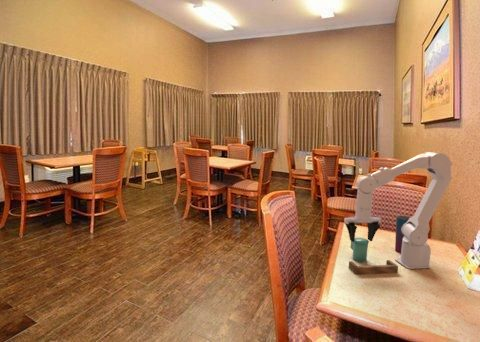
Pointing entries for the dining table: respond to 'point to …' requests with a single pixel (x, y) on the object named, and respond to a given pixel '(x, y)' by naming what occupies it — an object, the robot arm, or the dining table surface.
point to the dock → (374, 268)
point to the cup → (399, 236)
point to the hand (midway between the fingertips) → (360, 240)
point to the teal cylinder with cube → (359, 249)
